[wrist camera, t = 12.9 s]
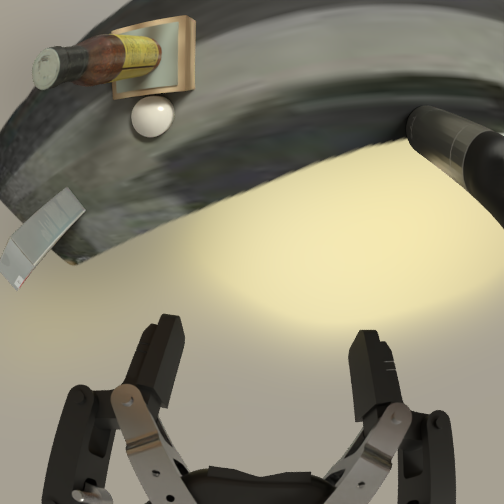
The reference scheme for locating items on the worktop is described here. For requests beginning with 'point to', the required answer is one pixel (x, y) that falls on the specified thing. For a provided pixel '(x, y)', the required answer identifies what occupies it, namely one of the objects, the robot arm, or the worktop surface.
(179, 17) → the plinth
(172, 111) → the white round dome
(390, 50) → the worktop surface
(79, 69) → the sauce bottle
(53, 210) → the hard drive box
